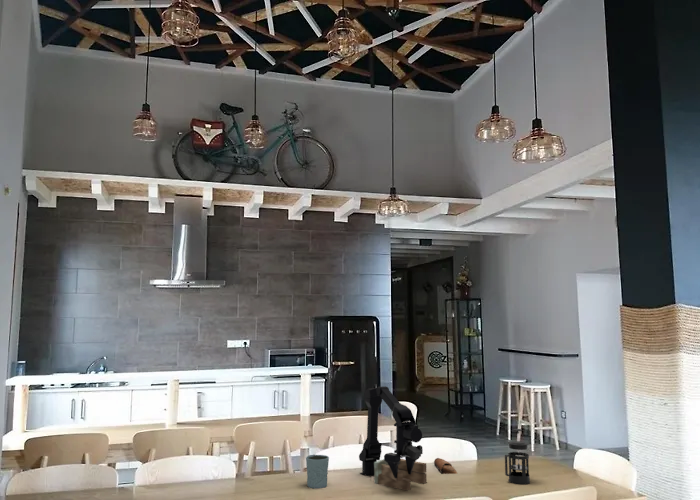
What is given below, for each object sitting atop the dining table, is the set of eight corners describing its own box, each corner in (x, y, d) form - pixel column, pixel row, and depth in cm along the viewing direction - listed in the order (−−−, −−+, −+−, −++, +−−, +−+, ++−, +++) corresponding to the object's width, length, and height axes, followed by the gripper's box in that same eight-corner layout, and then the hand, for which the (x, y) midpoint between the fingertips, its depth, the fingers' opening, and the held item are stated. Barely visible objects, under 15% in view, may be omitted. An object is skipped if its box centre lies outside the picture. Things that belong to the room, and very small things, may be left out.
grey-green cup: (311, 490, 237) (311, 460, 238) (301, 484, 246) (302, 455, 247) (332, 487, 241) (332, 458, 243) (322, 481, 250) (323, 453, 252)
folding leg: (380, 473, 247) (380, 464, 247) (384, 472, 248) (384, 463, 249) (397, 481, 235) (397, 471, 235) (402, 480, 236) (402, 471, 236)
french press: (524, 478, 257) (522, 426, 260) (535, 484, 248) (533, 430, 251) (501, 479, 255) (499, 427, 258) (511, 485, 245) (509, 431, 249)
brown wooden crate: (374, 483, 247) (374, 462, 249) (394, 475, 260) (394, 455, 261) (407, 490, 237) (406, 468, 238) (426, 482, 249) (426, 461, 250)
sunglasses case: (458, 473, 264) (451, 460, 265) (446, 481, 264) (439, 468, 264) (450, 464, 282) (443, 452, 283) (438, 471, 281) (431, 460, 282)
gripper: (404, 444, 229) (403, 483, 227) (430, 438, 242) (431, 476, 240) (383, 440, 237) (383, 478, 234) (410, 434, 250) (410, 471, 248)
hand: (402, 476), depth 239 cm, fingers open, 9 cm apart
